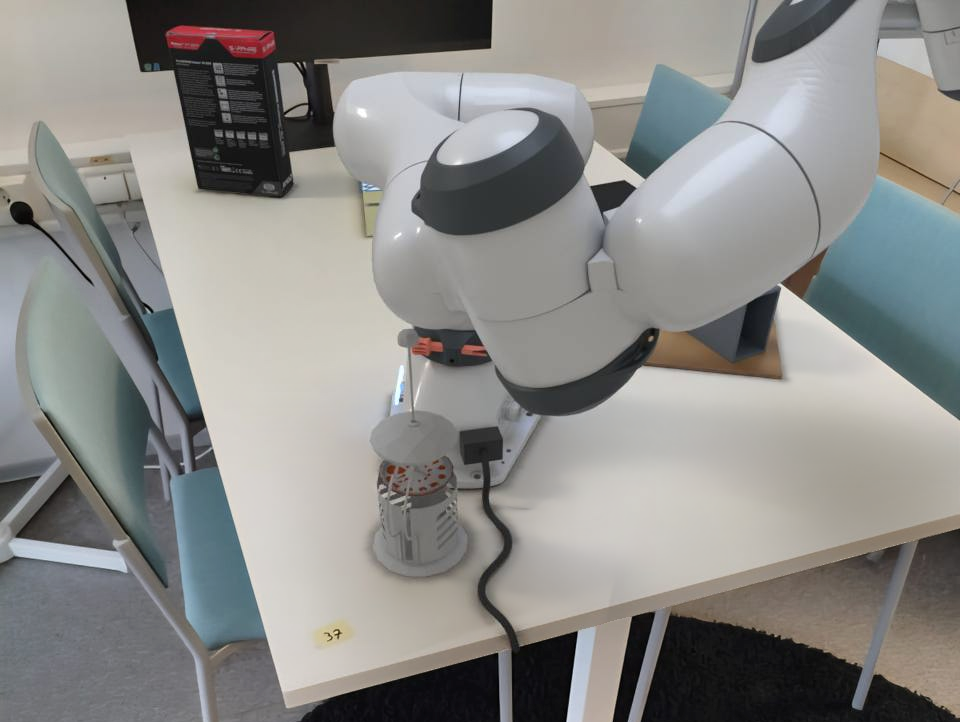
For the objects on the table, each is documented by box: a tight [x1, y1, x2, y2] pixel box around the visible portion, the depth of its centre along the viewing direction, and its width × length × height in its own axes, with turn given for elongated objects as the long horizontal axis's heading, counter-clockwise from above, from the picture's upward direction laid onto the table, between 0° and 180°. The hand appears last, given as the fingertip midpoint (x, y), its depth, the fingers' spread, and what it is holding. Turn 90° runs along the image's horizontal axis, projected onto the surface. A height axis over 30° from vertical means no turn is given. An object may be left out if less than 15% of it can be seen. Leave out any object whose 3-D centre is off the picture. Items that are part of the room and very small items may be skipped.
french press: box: [369, 328, 469, 578], centre depth 80 cm, size 10×12×25 cm
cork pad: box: [642, 319, 783, 380], centre depth 121 cm, size 20×18×1 cm
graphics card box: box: [165, 25, 295, 198], centre depth 152 cm, size 17×7×27 cm, turn 80°
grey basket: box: [686, 284, 782, 363], centre depth 116 cm, size 12×6×10 cm, turn 29°
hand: (839, 29), depth 84 cm, fingers open, 8 cm apart
